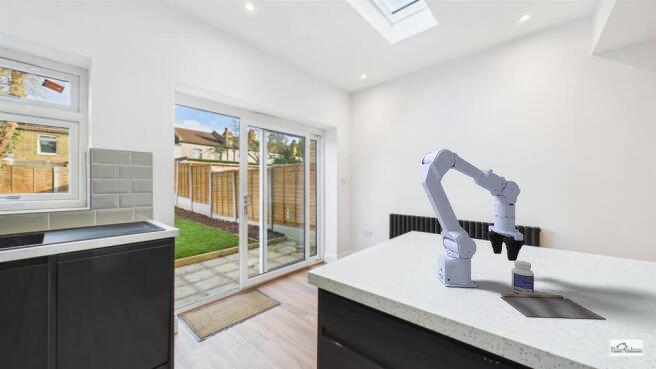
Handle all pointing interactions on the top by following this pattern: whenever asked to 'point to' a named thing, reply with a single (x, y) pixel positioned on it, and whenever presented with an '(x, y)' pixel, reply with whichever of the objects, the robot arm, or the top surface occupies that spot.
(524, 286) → the pill bottle
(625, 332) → the top surface
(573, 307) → the dark grey mat
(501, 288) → the top surface
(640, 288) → the top surface
